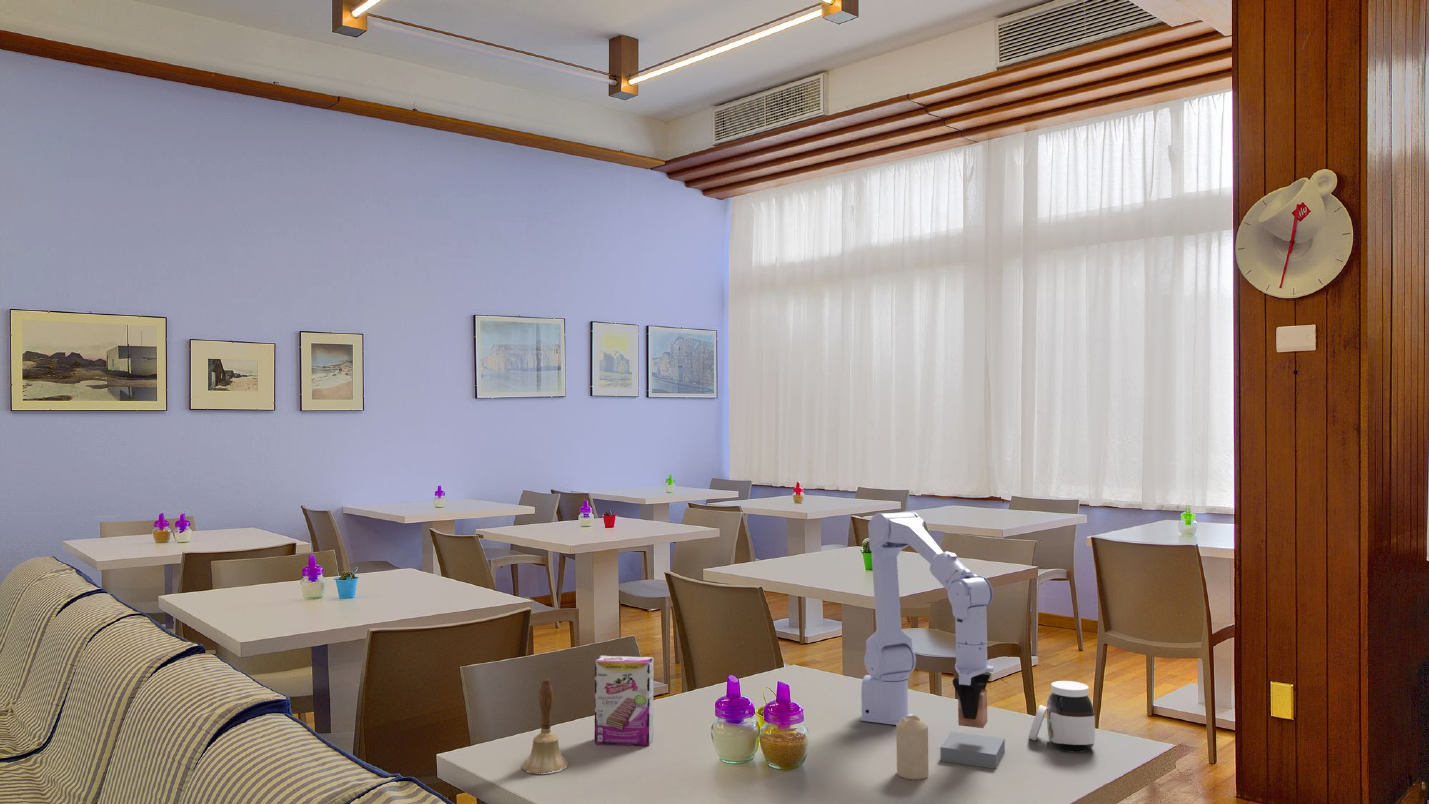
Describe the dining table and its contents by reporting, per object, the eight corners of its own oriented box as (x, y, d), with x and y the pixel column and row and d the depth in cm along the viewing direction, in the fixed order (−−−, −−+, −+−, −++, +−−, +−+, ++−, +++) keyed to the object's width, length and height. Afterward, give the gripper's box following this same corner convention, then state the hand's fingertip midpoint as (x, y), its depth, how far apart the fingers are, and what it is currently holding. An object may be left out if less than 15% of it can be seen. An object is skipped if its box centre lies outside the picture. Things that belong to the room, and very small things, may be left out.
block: (958, 725, 176) (957, 692, 176) (963, 718, 180) (962, 687, 180) (983, 728, 174) (982, 695, 174) (987, 721, 178) (986, 689, 178)
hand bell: (576, 762, 175) (576, 675, 176) (553, 777, 167) (554, 686, 168) (537, 757, 178) (537, 671, 178) (513, 771, 170) (513, 682, 171)
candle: (928, 781, 164) (928, 723, 165) (896, 778, 165) (896, 721, 166) (928, 770, 170) (927, 713, 170) (897, 768, 171) (896, 712, 171)
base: (940, 760, 174) (940, 747, 174) (951, 744, 183) (951, 731, 183) (996, 768, 170) (995, 754, 170) (1004, 751, 179) (1004, 738, 179)
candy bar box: (593, 745, 184) (593, 660, 185) (599, 737, 189) (599, 654, 190) (650, 746, 183) (649, 661, 184) (654, 738, 188) (654, 655, 189)
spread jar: (1101, 755, 177) (1099, 692, 178) (1040, 754, 177) (1039, 692, 178) (1077, 734, 189) (1076, 676, 190) (1021, 734, 189) (1020, 676, 190)
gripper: (986, 651, 169) (987, 728, 169) (999, 636, 182) (1000, 707, 182) (946, 648, 172) (948, 723, 172) (962, 633, 185) (963, 702, 185)
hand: (972, 714), depth 177 cm, fingers closed on block, 4 cm apart
